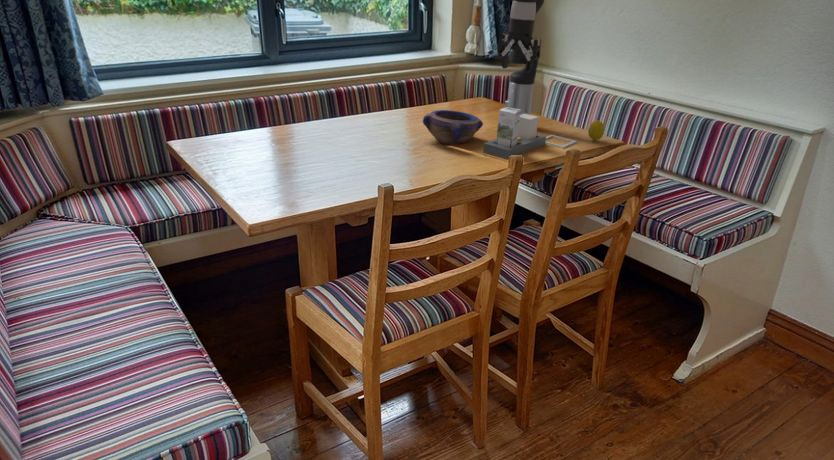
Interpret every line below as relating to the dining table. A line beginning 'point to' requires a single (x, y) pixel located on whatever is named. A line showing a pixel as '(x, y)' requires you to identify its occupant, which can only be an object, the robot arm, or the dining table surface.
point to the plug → (527, 127)
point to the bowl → (452, 126)
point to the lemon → (596, 130)
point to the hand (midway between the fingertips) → (516, 70)
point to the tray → (562, 139)
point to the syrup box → (508, 127)
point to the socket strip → (516, 150)
